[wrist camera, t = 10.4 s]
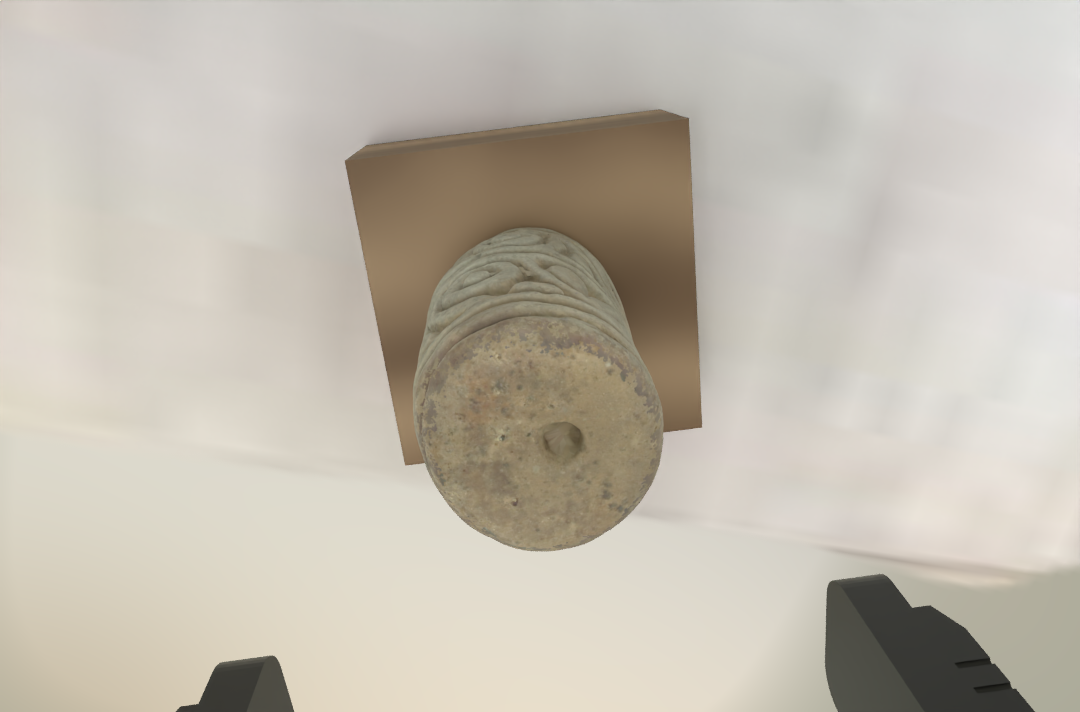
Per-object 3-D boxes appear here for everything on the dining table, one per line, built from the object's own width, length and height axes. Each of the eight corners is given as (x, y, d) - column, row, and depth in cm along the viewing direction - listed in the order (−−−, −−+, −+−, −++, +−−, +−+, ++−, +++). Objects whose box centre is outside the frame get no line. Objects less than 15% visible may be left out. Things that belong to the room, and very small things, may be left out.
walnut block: (366, 145, 32) (344, 160, 27) (659, 109, 32) (688, 118, 27) (416, 412, 36) (405, 465, 31) (674, 379, 36) (701, 427, 32)
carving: (533, 169, 28) (563, 246, 16) (654, 328, 30) (751, 490, 19) (396, 277, 29) (335, 419, 17) (522, 423, 31) (540, 629, 20)
